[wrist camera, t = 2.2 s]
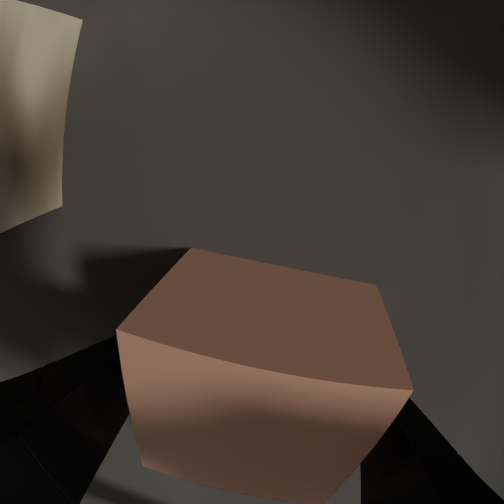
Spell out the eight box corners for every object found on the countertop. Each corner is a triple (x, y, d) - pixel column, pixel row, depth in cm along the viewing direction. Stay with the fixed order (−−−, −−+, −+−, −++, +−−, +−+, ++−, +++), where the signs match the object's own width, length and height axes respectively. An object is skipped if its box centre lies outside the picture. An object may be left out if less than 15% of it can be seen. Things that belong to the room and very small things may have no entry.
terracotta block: (324, 405, 10) (322, 504, 6) (185, 376, 10) (142, 465, 7) (375, 283, 8) (414, 390, 4) (192, 245, 8) (116, 329, 5)
